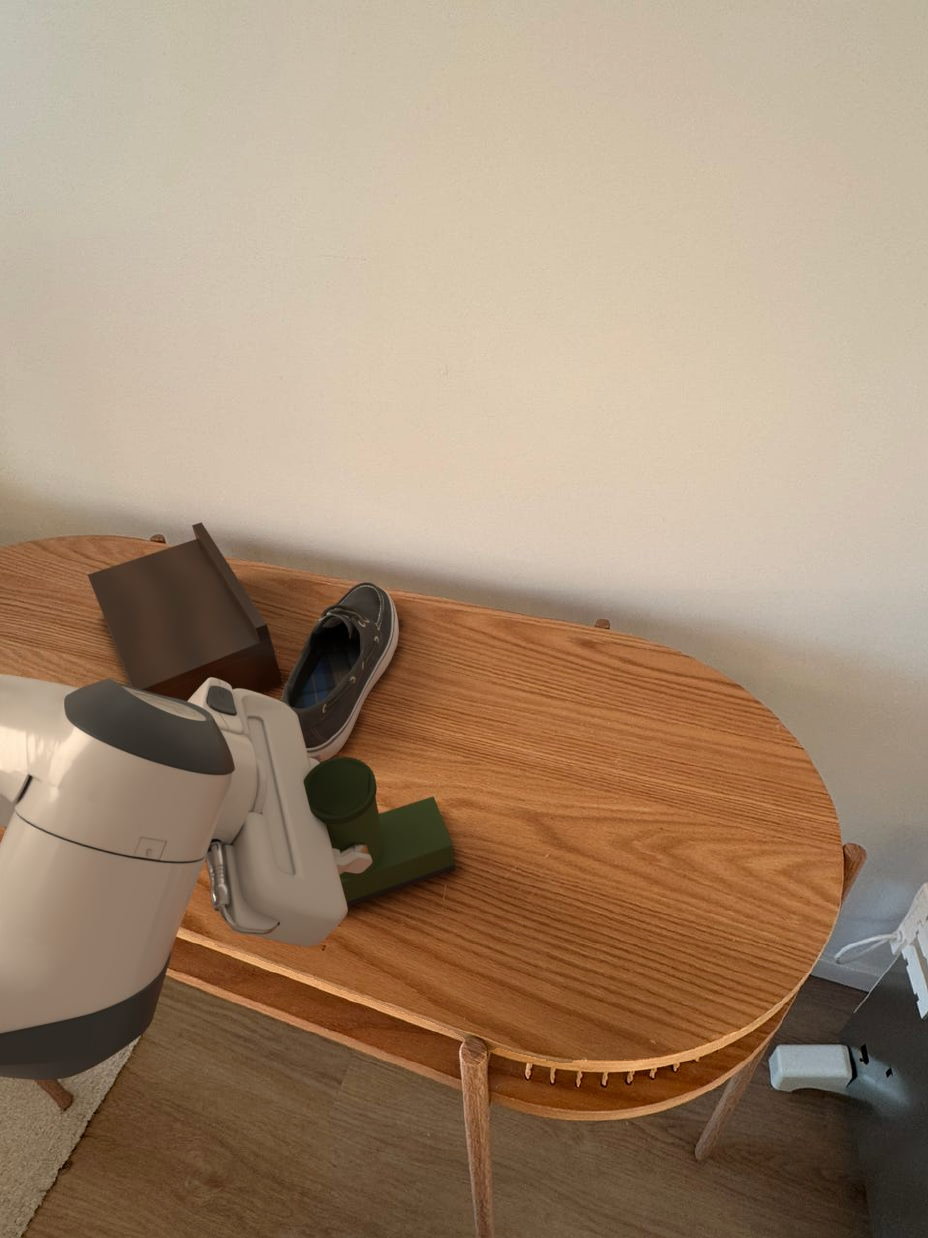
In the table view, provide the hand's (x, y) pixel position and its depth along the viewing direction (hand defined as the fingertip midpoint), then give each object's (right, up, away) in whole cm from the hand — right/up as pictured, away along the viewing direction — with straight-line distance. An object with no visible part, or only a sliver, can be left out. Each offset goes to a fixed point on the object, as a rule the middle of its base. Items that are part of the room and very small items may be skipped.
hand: (355, 824), depth 59 cm
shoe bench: (-23, +13, +26) cm, 37 cm away
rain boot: (+2, -5, +5) cm, 8 cm away
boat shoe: (-5, +10, +23) cm, 25 cm away
